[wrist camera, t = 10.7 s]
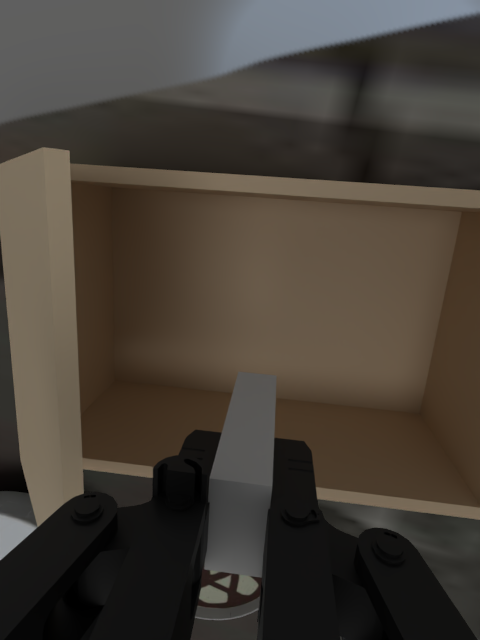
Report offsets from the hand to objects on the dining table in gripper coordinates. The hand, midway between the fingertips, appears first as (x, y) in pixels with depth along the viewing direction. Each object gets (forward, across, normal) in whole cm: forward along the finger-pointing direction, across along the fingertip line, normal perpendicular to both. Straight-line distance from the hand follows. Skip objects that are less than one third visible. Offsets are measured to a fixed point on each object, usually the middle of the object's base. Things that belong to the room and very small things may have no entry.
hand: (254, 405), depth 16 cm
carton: (+18, 0, 0) cm, 18 cm away
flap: (+1, +9, 0) cm, 9 cm away
